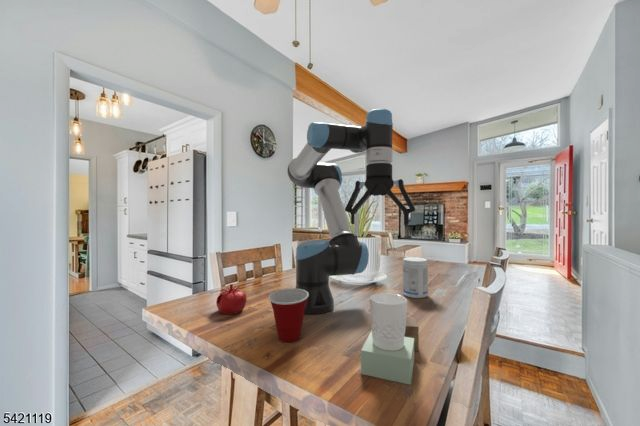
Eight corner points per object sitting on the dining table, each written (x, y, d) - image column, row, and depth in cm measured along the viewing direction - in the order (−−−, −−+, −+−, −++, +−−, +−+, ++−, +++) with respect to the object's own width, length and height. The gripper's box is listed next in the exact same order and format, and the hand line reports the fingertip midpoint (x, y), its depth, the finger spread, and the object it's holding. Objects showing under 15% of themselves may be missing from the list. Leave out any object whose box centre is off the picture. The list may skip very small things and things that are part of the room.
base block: (361, 373, 59) (361, 350, 59) (371, 351, 69) (370, 331, 69) (410, 384, 56) (410, 359, 56) (414, 359, 65) (414, 338, 65)
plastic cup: (259, 342, 74) (259, 296, 74) (284, 326, 83) (283, 286, 83) (294, 351, 69) (294, 302, 69) (316, 334, 78) (316, 291, 78)
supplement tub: (419, 291, 120) (419, 256, 120) (432, 298, 111) (433, 260, 110) (398, 292, 118) (398, 257, 118) (410, 299, 109) (410, 261, 108)
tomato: (251, 307, 101) (251, 281, 101) (238, 317, 91) (239, 288, 91) (224, 305, 102) (225, 279, 102) (210, 315, 93) (210, 286, 93)
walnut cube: (393, 349, 70) (393, 325, 70) (390, 338, 76) (390, 316, 76) (418, 351, 69) (418, 326, 69) (413, 340, 75) (413, 317, 75)
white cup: (362, 340, 64) (362, 296, 64) (389, 333, 68) (389, 291, 67) (386, 356, 57) (386, 306, 57) (414, 347, 61) (414, 300, 60)
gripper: (334, 164, 85) (334, 235, 85) (423, 159, 75) (423, 238, 75) (342, 168, 92) (342, 233, 92) (424, 163, 82) (424, 236, 82)
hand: (379, 236), depth 84 cm, fingers open, 13 cm apart
